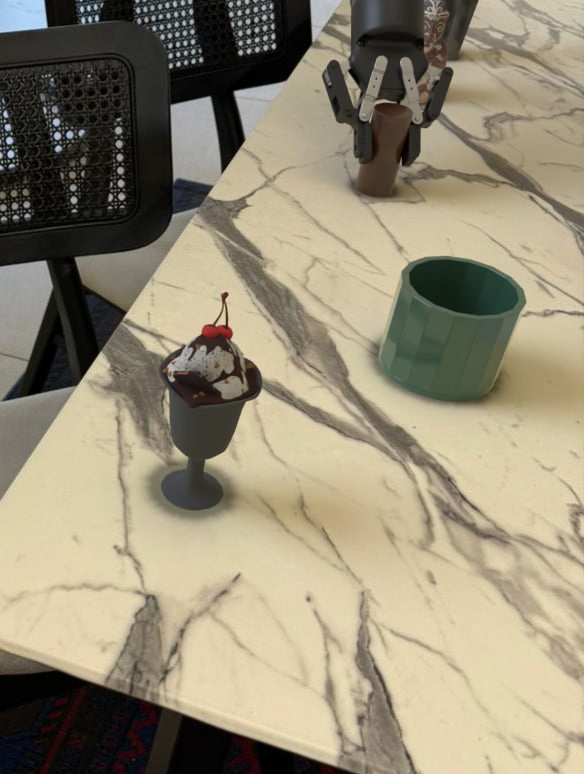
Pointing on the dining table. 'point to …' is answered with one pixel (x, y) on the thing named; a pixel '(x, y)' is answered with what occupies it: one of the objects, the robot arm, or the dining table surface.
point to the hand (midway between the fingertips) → (387, 161)
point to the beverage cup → (457, 24)
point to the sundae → (205, 408)
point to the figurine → (434, 41)
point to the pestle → (384, 149)
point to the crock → (450, 327)
